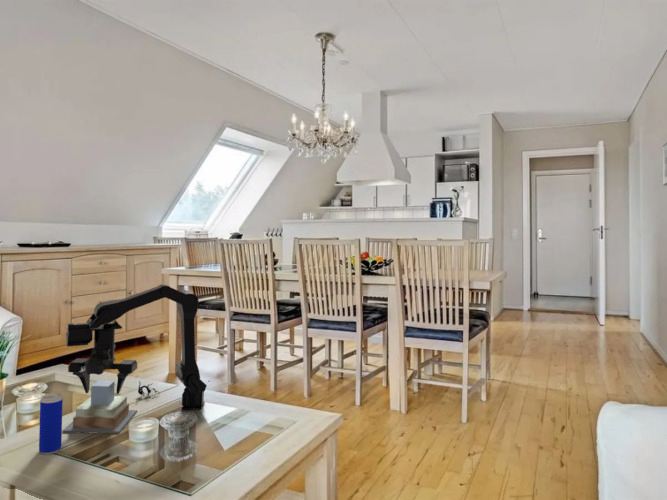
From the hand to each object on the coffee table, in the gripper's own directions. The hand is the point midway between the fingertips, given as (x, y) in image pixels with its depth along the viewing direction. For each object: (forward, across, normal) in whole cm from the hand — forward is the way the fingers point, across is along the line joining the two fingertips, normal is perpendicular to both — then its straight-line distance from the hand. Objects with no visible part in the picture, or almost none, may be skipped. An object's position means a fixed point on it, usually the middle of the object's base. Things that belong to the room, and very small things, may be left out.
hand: (102, 393), depth 146 cm
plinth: (+9, 0, 0) cm, 9 cm away
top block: (+3, 0, 0) cm, 3 cm away
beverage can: (+9, -6, -19) cm, 22 cm away
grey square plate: (+9, 0, 0) cm, 9 cm away
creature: (+9, +7, +23) cm, 26 cm away
